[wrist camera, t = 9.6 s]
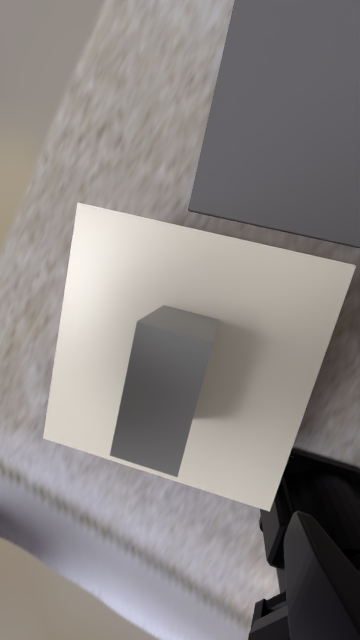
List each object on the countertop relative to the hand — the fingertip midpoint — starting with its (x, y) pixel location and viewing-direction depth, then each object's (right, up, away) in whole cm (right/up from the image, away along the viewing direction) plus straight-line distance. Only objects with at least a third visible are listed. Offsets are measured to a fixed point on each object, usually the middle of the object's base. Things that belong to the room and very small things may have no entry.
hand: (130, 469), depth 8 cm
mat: (+10, +15, +8) cm, 20 cm away
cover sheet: (+1, +2, +6) cm, 7 cm away
